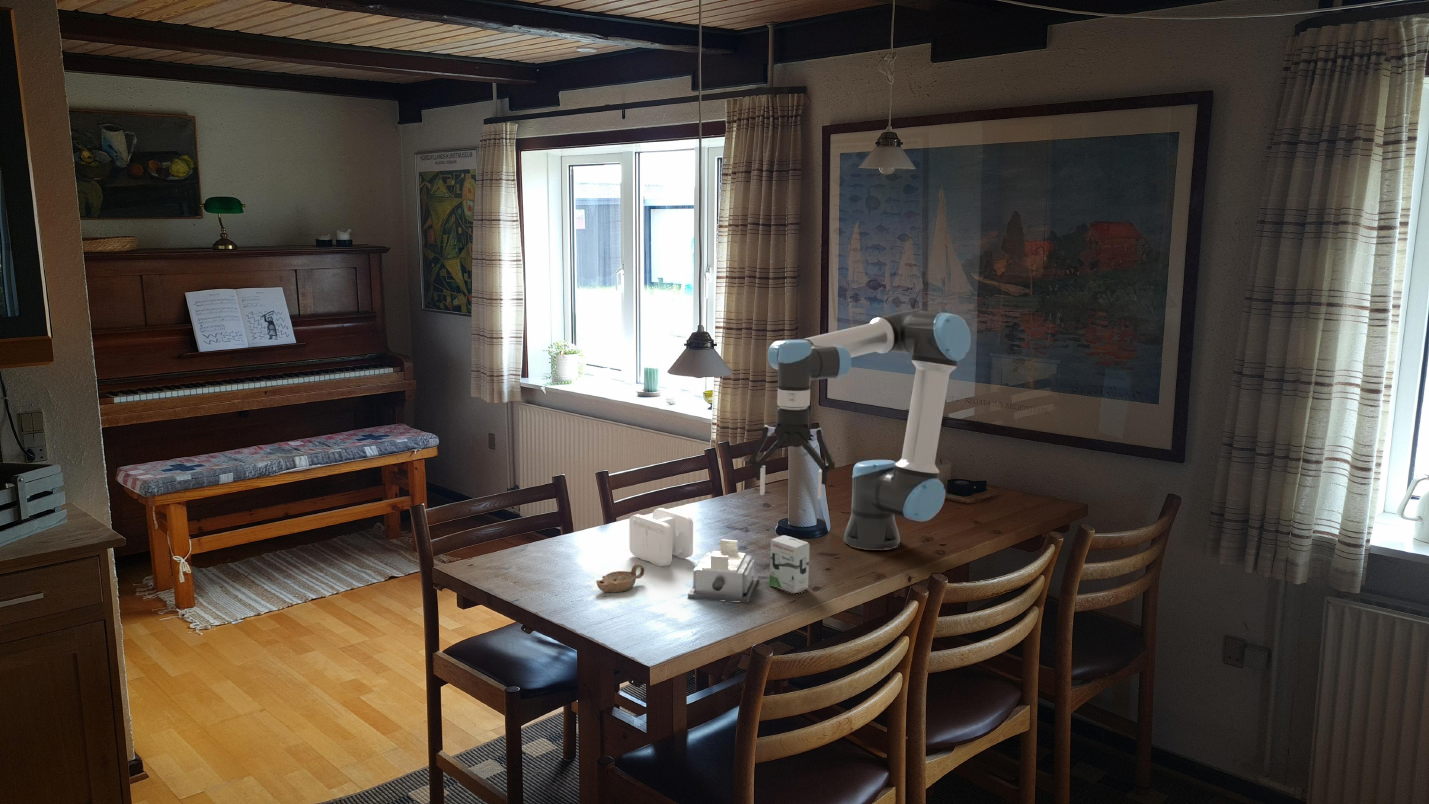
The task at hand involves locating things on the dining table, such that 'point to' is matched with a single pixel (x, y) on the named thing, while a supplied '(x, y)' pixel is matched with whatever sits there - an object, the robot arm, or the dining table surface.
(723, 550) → the white boxy piece
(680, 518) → the cable organizer
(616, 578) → the oil lamp
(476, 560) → the dining table surface
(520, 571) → the dining table surface
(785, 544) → the ink box
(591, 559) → the dining table surface
